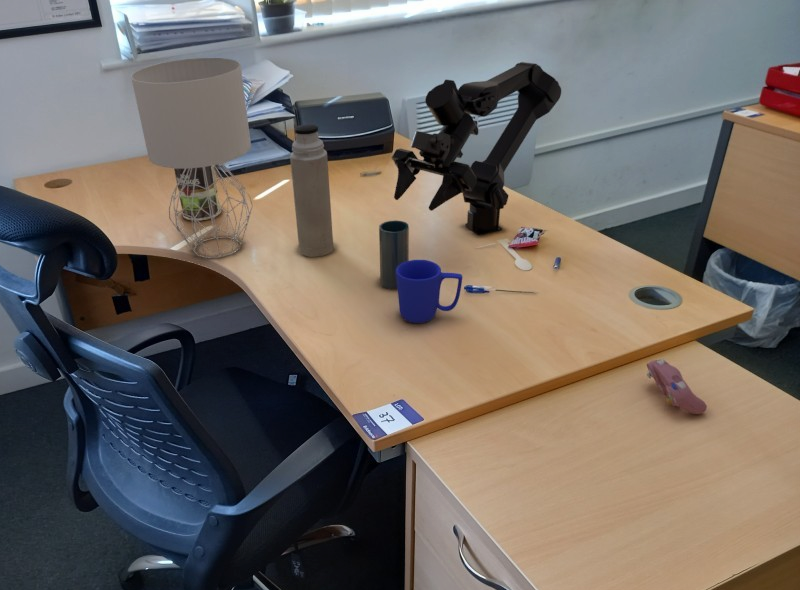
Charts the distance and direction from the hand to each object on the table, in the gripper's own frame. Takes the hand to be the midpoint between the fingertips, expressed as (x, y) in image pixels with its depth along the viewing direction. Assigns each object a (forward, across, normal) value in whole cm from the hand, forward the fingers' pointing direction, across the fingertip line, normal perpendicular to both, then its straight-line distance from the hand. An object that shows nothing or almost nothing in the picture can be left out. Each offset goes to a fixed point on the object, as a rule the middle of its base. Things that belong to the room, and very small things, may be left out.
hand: (412, 204), depth 139 cm
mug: (+20, +16, +2) cm, 25 cm away
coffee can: (+18, -63, +4) cm, 66 cm away
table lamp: (+26, -42, -3) cm, 50 cm away
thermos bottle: (+15, -23, +7) cm, 28 cm away
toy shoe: (+16, +60, +6) cm, 62 cm away
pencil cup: (+15, +2, +6) cm, 16 cm away
